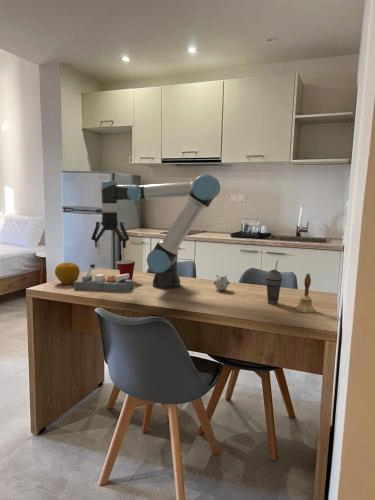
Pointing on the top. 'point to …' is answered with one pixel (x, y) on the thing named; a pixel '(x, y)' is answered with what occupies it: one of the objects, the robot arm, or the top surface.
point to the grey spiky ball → (221, 283)
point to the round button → (110, 278)
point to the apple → (67, 273)
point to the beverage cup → (273, 286)
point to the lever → (90, 271)
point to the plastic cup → (126, 267)
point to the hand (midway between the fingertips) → (110, 254)
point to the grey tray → (103, 285)
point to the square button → (100, 278)
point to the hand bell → (306, 298)
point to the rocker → (122, 276)
